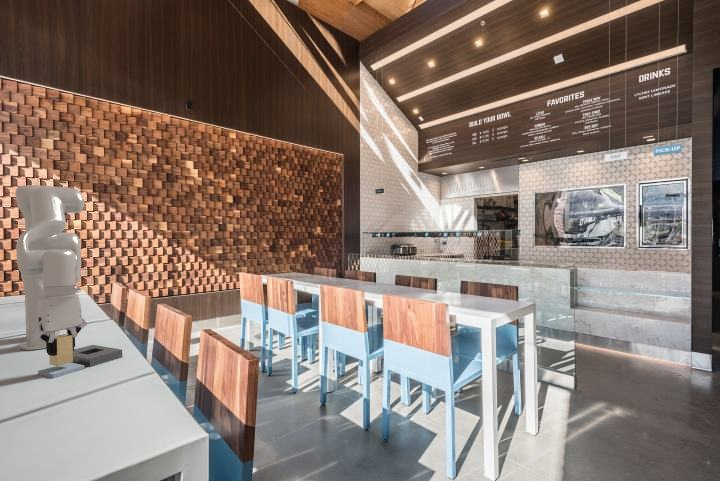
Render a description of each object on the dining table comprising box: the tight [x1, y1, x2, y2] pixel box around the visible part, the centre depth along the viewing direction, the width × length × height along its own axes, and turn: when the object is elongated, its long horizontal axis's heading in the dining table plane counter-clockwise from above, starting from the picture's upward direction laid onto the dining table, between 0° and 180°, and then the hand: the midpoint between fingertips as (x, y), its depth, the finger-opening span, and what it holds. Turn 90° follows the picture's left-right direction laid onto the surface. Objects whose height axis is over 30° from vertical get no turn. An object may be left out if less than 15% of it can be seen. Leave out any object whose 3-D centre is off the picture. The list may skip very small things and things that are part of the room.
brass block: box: [49, 333, 73, 366], centre depth 110 cm, size 4×4×8 cm
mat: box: [37, 362, 85, 379], centre depth 110 cm, size 8×8×1 cm
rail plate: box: [71, 344, 123, 368], centre depth 121 cm, size 16×10×2 cm, turn 66°
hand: (61, 352), depth 110 cm, fingers closed on brass block, 4 cm apart
